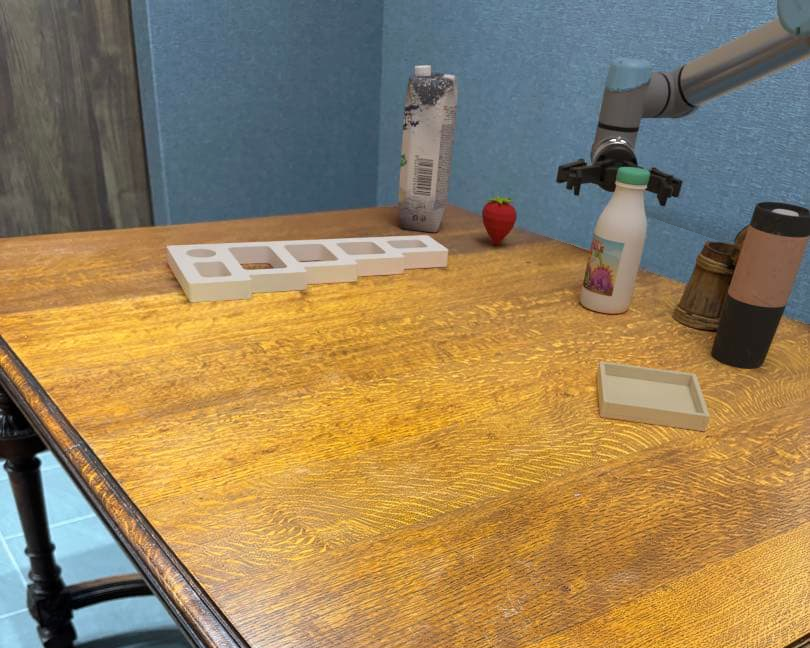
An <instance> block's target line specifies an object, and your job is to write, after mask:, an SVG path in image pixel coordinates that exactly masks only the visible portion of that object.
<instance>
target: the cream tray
mask: <svg viewBox="0 0 810 648" xmlns="http://www.w3.org/2000/svg"><path fill="white" fill-rule="evenodd" d="M597 366H598V367H597V371H596V386H597V396H598V397H597V398H598V409H599V417H600V418H604V419H605V418H606V419H613V420H620V421H627V422H633V423H634V422H635V423H640V424H648V425H656V426H661V427H662V426H663V427H670V428H677V429H685V430H691V431H699V432H706V431H707V427H708V424H709V421H710V418H711V415H710V412H709V408H708V406H707V403H706V399H705V397H704V394H703V391H702V388H701V385H700V382H699V379H698V376H697V373H691V372H684V371H675V370H669V369H661V368H655V367H654V368H653V367H647V366H639V365H631V364H625V363H617V362H616V363H615V362H609V361H602V360H599V362H598V365H597Z"/></svg>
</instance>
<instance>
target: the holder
mask: <svg viewBox="0 0 810 648" xmlns="http://www.w3.org/2000/svg"><path fill="white" fill-rule="evenodd" d="M449 251H450V250H449V249H448V248H447V247H445V246H444V245H442V244H441V243H439V242H438V241H437V240H435V239H434V238H433V237H431V236H429V235H427V234H423V235H422V234H420V235H419V234H418V235H397V236H395V235H393V236H371V237H369V236H368V237H348V238H347V237H346V238H324V239H323V238H322V239H300V240H298V239H297V240H295V239H294V240H277V241H276V240H275V241H274V240H273V241H251V242H250V241H249V242H248V241H246V242H227V243H225V242H224V243H222V242H221V243H200V244H176V245H175V244H173V245H166V255H167V265H168V266H169V268H170V270H171V272H172V273H173V275H174V277H175V278H176V280H177V282H178V284H179V285H180V287H181V289H182V291H183V292H184V294H185V296H186V298H187V299H188V301H189V302H190V303H206V302H222V301H236V300H237V301H238V300H250V299H253V294H260V293H261V294H263V293H274V292H276V293H277V292H289V291H290V292H291V291H306V290H307V289H308V285H322V284H337V283H353V282H357V281H358V277H371V276H387V275H390V276H391V275H404V272H405V270H411V269H412V270H413V269H414V270H415V269H428V268H429V269H430V268H431V269H432V268H446V267H448V260H449ZM250 264H251V265H252V264H269V265H270V266H271V267H272V268H260V269H259V268H258V269H257V268H256V269H246V268H244V267H243V266H242V265H250Z"/></svg>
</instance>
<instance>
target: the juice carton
mask: <svg viewBox="0 0 810 648" xmlns="http://www.w3.org/2000/svg"><path fill="white" fill-rule="evenodd" d="M406 87H407V88H406V93H405V100H404V108H403V109H404V112H403V125H402V138H401V139H402V140H401V153H400V154H401V155H400V166H399V167H400V170H399V183H398V198H397V199H398V201H397V213H398V221H399V228H400V229H401V230H402V229H403V230H408V231H409V230H410V231H417V232H426V233H437V232H438V231H439V229H440V226H441V223H442V221H443V218H444V216H445V212H446V209H447V204H448V198H449V188H450V178H451V169H452V158H453V149H454V140H455V129H456V128H455V127H456V119H457V108H458V107H457V106H458V77H457V75H455V74H448V73H441V72H432V66H431V65H415V66H414V73H413V75H410V76H409V78H408V82H407V86H406Z"/></svg>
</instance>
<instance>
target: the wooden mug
mask: <svg viewBox="0 0 810 648" xmlns="http://www.w3.org/2000/svg"><path fill="white" fill-rule="evenodd" d="M749 225H750V223H749V224H748V225H745V227H743V228H742V229H741V230H740V231H739V232H738V233H737V234H736V236H735V238H734V240H733V243H729V242H723V241H712V240H711V241H706V242H705V243H704V244H703V248H702V249H701V251H700V252H699V253H698V255H697V257H696V259H695V265H694V267H693V270H692V273H691V275H690V277H689V279H688V282H687V284H686V286H685V289H684V290H683V293H682V296H681V298H680V300H679V302H678V304H676V306H675V308H674V310H673V313H672V317H673V318H674V320H676V321H677V322H679V323H680V324H683V325H685V326H687V327H689V328H693V329H698V330H703V331H709V332H717V329H718V326H719V322H720V318H721V315H722V311H723V308H724V304H725V300H726V297H727V294H728V290H729V287H730V284H731V281H732V278H733V274H734V271H735V268H736V265H737V262H738V259H739V256H740V253H741V250H742V247H743V243H744V240H745V237H746V234H747V231H748V228H749Z"/></svg>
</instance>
